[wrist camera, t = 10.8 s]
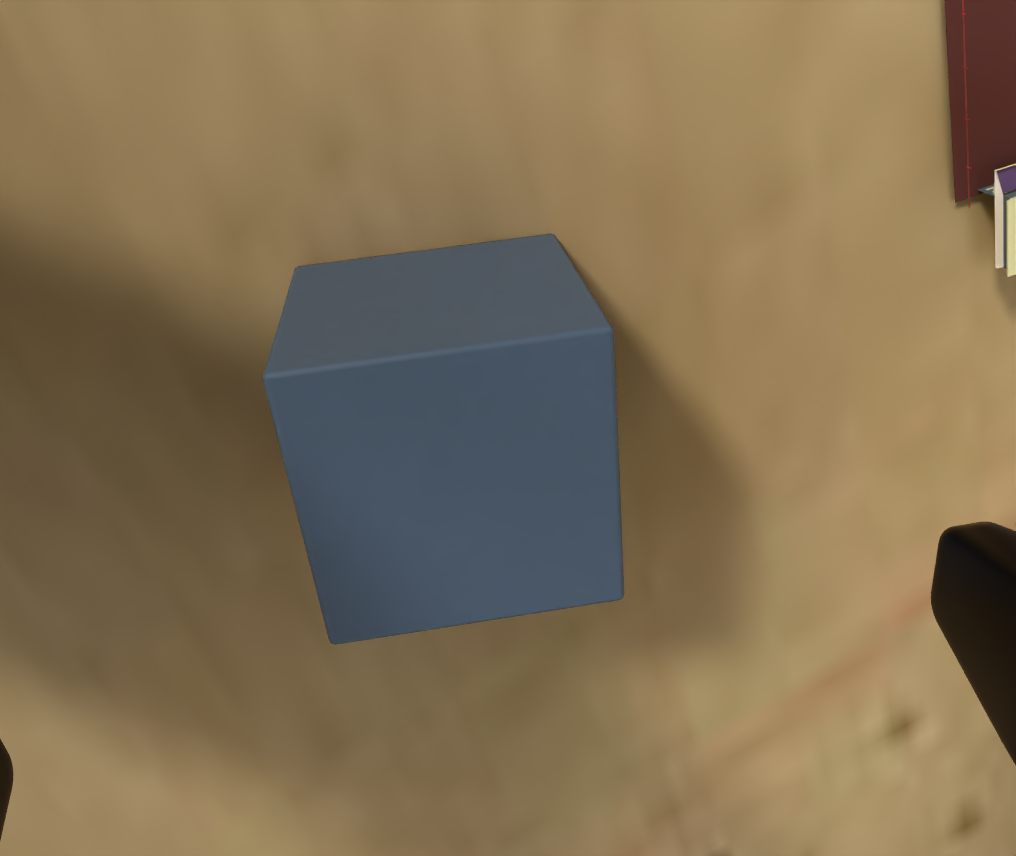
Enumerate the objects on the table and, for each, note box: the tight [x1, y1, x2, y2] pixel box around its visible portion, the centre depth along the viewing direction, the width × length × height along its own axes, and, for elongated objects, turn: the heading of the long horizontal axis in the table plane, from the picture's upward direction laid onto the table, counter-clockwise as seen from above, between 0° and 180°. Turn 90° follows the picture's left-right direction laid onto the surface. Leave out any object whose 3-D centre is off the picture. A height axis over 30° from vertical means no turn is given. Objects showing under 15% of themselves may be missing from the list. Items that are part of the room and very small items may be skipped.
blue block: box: [263, 234, 624, 645], centre depth 16 cm, size 5×5×5 cm
